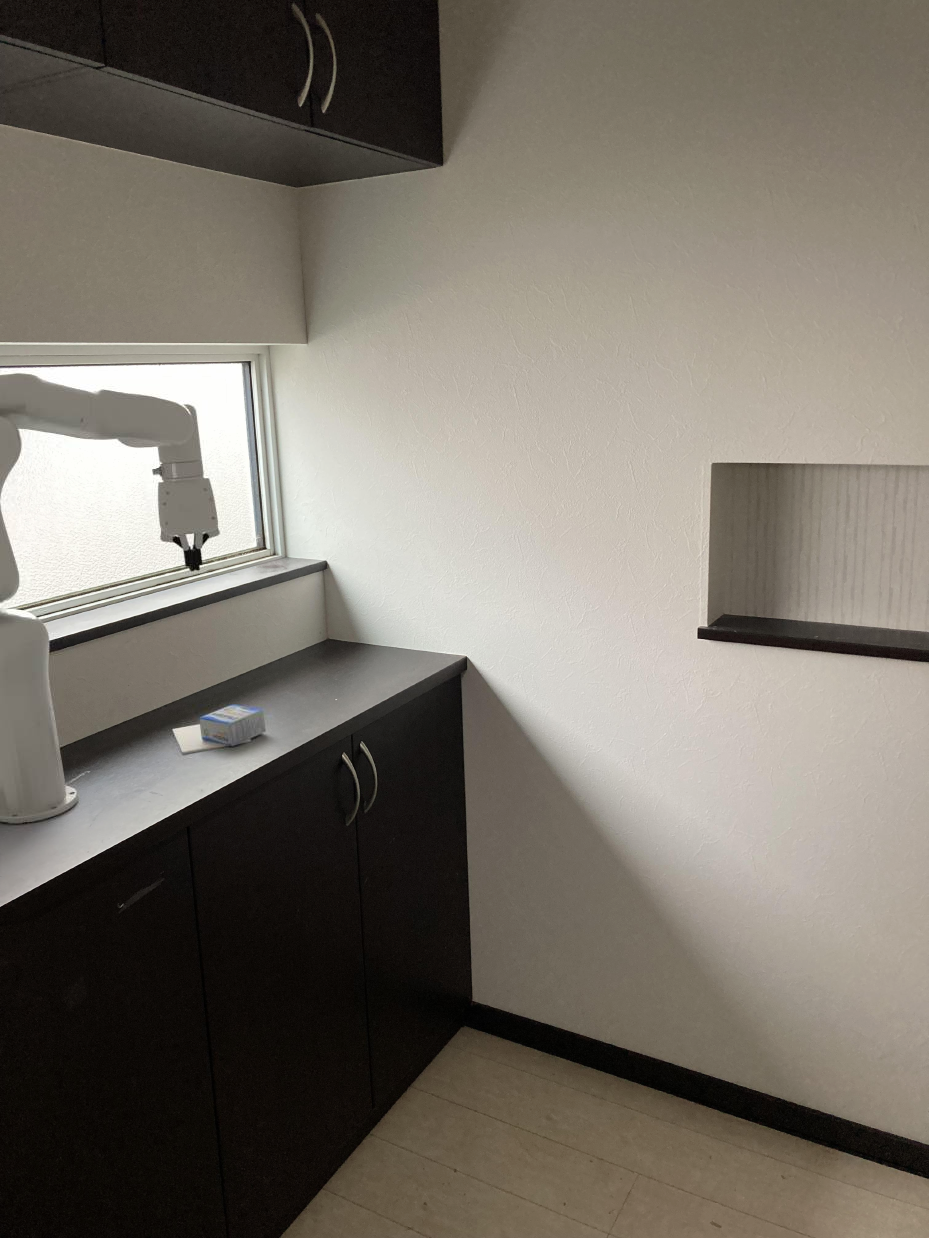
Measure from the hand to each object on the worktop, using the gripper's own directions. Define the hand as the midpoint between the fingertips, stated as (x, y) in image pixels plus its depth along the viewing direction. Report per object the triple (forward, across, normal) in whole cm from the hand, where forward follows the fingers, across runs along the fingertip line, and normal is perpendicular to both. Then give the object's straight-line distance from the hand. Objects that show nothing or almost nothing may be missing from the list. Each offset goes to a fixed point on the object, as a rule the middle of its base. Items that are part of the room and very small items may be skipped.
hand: (194, 569), depth 191 cm
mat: (+29, -2, -11) cm, 31 cm away
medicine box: (+27, +5, -12) cm, 30 cm away
